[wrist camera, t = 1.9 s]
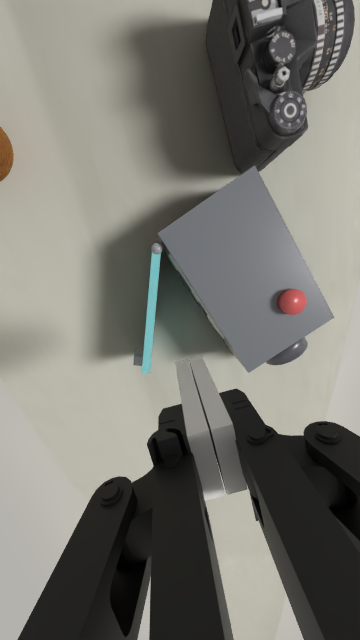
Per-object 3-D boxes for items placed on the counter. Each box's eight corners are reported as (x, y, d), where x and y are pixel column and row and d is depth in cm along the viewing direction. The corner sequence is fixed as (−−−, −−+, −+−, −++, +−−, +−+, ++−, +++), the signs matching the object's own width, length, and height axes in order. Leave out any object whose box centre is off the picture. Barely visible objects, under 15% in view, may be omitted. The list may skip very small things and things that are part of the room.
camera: (325, 149, 28) (411, 88, 18) (233, 182, 28) (271, 138, 18) (296, -5, 25) (383, -176, 15) (193, 32, 25) (214, -117, 15)
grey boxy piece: (156, 242, 29) (154, 233, 21) (231, 189, 28) (258, 161, 21) (238, 366, 33) (261, 396, 25) (305, 322, 32) (350, 339, 25)
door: (145, 246, 28) (141, 241, 22) (162, 248, 28) (162, 243, 23) (136, 351, 31) (131, 372, 25) (152, 353, 31) (150, 373, 25)
